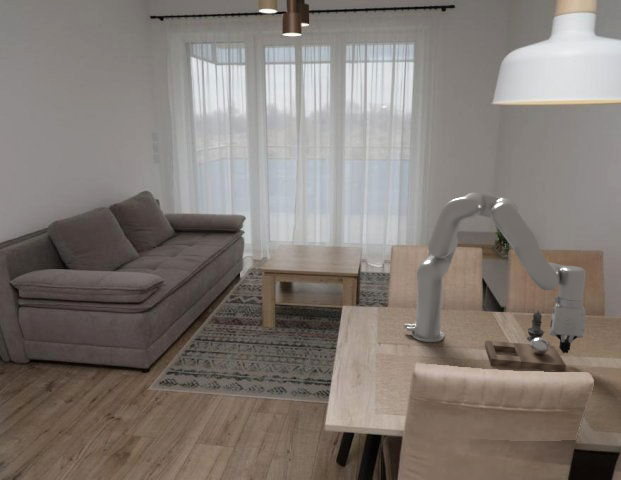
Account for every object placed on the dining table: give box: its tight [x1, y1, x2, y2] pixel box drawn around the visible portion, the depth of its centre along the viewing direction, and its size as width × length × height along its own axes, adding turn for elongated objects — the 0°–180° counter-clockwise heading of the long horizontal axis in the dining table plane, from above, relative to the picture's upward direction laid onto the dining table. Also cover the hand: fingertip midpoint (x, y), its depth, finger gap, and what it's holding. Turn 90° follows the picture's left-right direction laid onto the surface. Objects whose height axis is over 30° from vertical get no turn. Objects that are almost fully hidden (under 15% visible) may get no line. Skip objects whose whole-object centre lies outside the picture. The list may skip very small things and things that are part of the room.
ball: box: [529, 337, 550, 354], centre depth 173 cm, size 6×6×6 cm
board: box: [484, 340, 567, 372], centre depth 175 cm, size 24×15×2 cm, turn 78°
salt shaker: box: [527, 310, 545, 342], centre depth 190 cm, size 6×6×12 cm
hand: (564, 351), depth 172 cm, fingers closed
